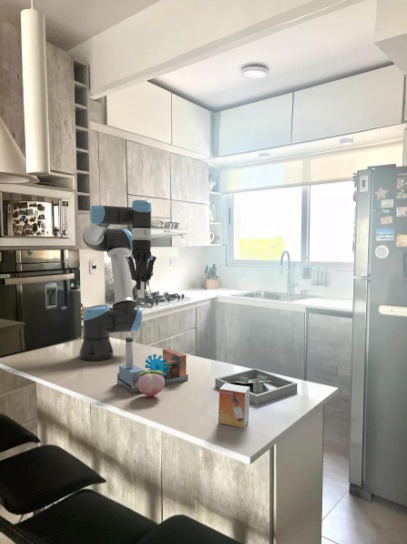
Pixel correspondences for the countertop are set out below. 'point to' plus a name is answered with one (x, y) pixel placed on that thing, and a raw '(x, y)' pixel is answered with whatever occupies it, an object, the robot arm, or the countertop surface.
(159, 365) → the gear
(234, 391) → the small box
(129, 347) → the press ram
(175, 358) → the frame
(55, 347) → the countertop surface
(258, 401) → the parts tray
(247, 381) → the metal bracket
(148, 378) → the decorative fruit
